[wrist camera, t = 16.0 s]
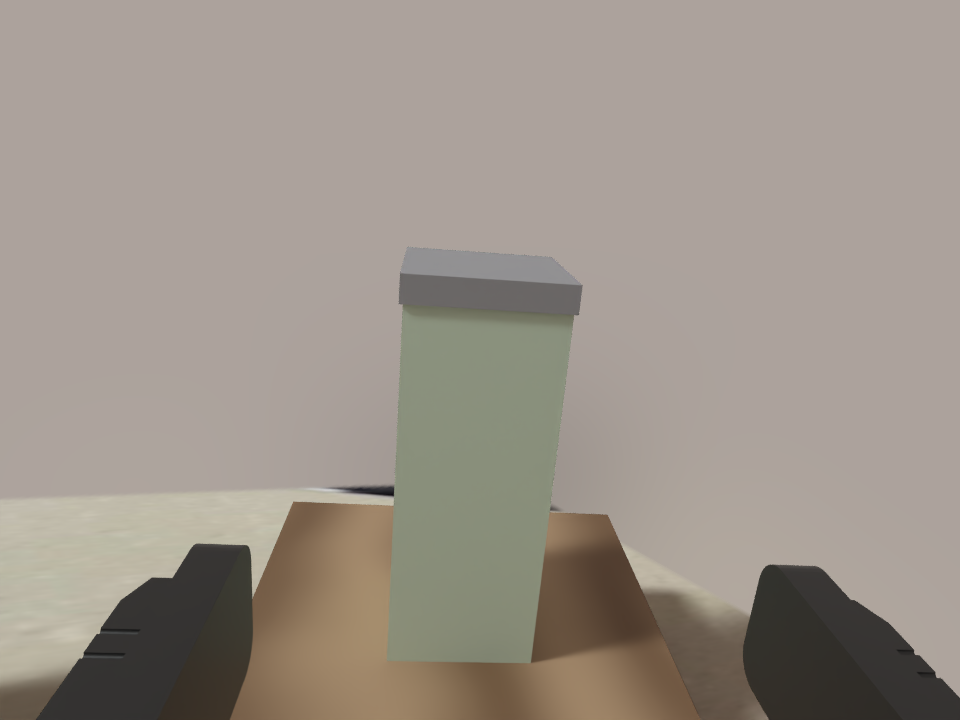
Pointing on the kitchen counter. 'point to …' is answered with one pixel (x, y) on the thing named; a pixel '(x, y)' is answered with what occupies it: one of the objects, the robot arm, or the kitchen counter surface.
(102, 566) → the kitchen counter surface
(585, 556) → the walnut block
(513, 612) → the green tin canister
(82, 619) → the kitchen counter surface
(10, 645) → the kitchen counter surface
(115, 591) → the kitchen counter surface
